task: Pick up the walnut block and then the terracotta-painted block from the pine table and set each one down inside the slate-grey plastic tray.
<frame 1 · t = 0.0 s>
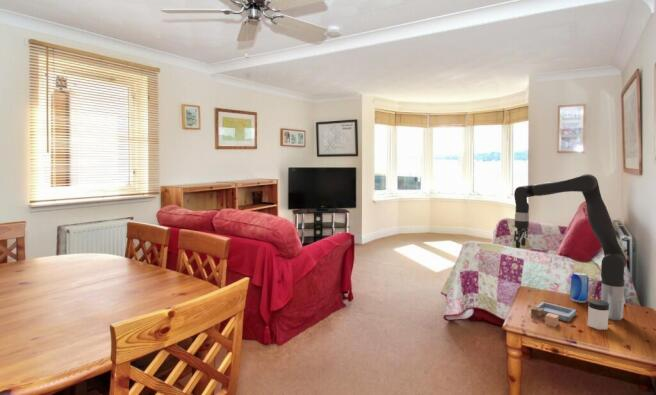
hand: (520, 246, 224), 29 cm above the table, fingers open, 8 cm apart
block terracotta: (551, 324, 186), on the table
tray: (554, 313, 198), on the table
block walnut: (537, 317, 195), on the table
jar: (597, 326, 183), on the table
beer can: (578, 300, 216), on the table
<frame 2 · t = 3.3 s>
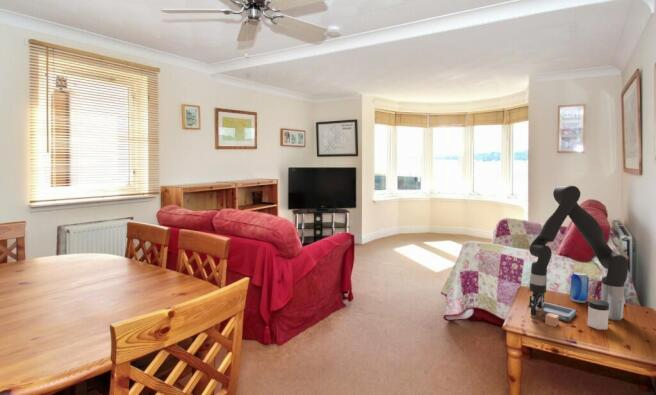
hand: (536, 312, 194), 2 cm above the table, fingers open, 8 cm apart
nothing on the table moved.
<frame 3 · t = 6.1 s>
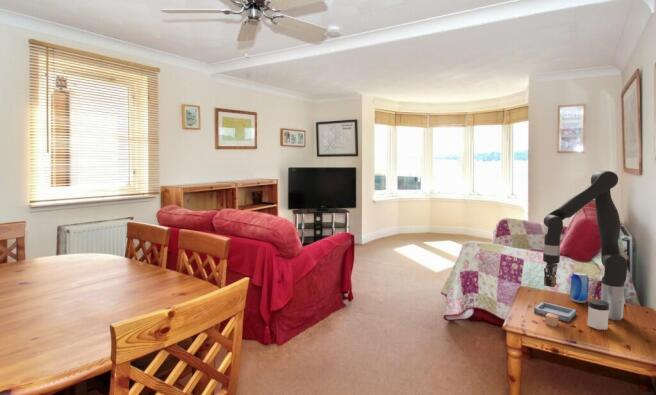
hand: (550, 284, 199), 15 cm above the table, fingers closed on block walnut, 4 cm apart
block walnut: (549, 285, 199), point 15 cm above the table, touching gripper
everything else where it was.
when the fingers open (3 cm above the table, at t = 8.6 s): block walnut drops 2 cm, resting on tray.
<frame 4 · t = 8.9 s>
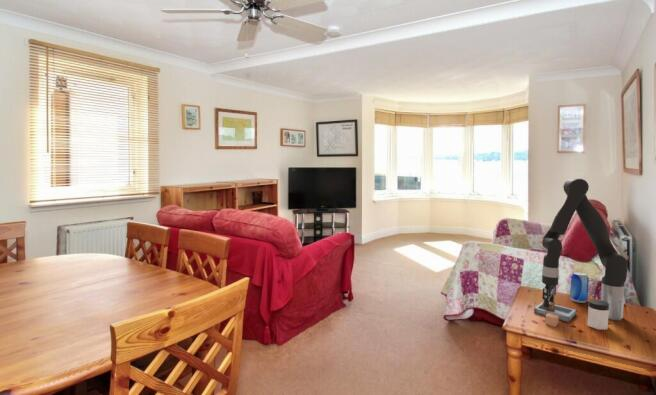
hand: (548, 304, 200), 4 cm above the table, fingers open, 7 cm apart
block walnut: (548, 310, 201), point 1 cm above the table, touching tray
everything else where it was.
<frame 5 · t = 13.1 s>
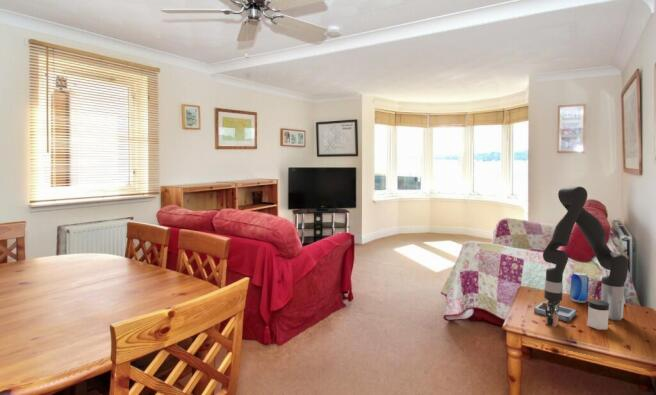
hand: (551, 323, 186), 0 cm above the table, fingers closed on block terracotta, 4 cm apart
block terracotta: (551, 323, 186), on the table, touching gripper
everything else where it was.
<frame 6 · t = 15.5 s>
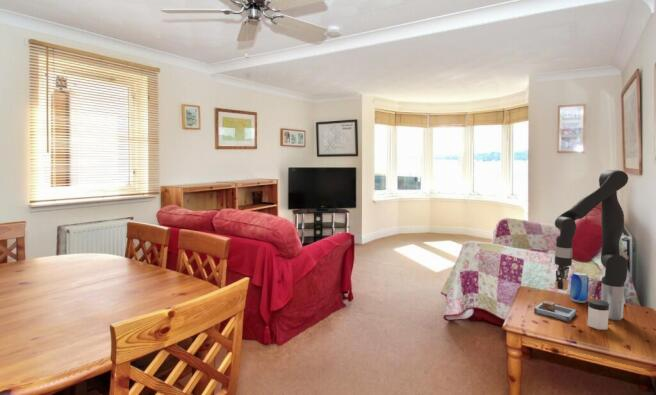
hand: (561, 287, 195), 15 cm above the table, fingers closed on block terracotta, 4 cm apart
block terracotta: (561, 288, 195), point 14 cm above the table, touching gripper
everything else where it was.
when the fingers open (3 cm above the table, at t = 17.8 s): block terracotta drops 2 cm, resting on tray.
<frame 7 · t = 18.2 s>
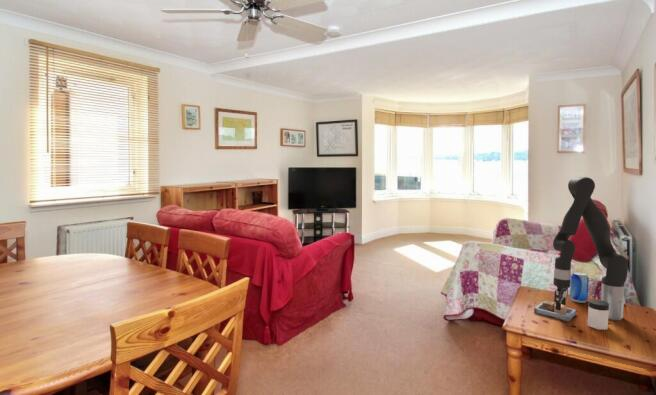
hand: (560, 307, 196), 4 cm above the table, fingers open, 7 cm apart
block terracotta: (560, 313, 197), point 1 cm above the table, touching tray
everything else where it was.
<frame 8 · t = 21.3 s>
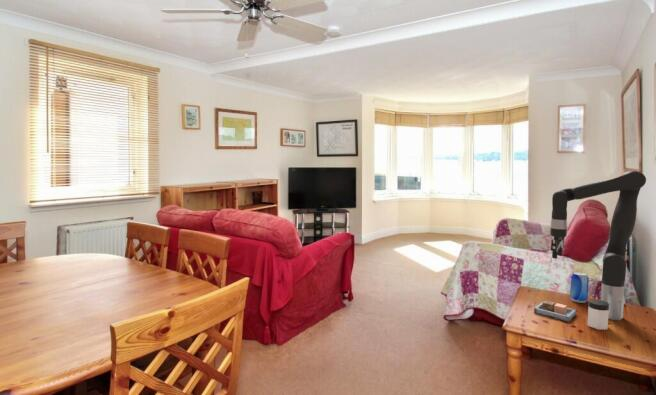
hand: (557, 256, 205), 28 cm above the table, fingers open, 8 cm apart
nothing on the table moved.
at the end: block walnut inside the target area on the tray (3.0 cm from its centre), point 0.6 cm above the tray's base; block terracotta inside the target area on the tray (2.4 cm from its centre), point 0.6 cm above the tray's base; the gripper is holding nothing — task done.
